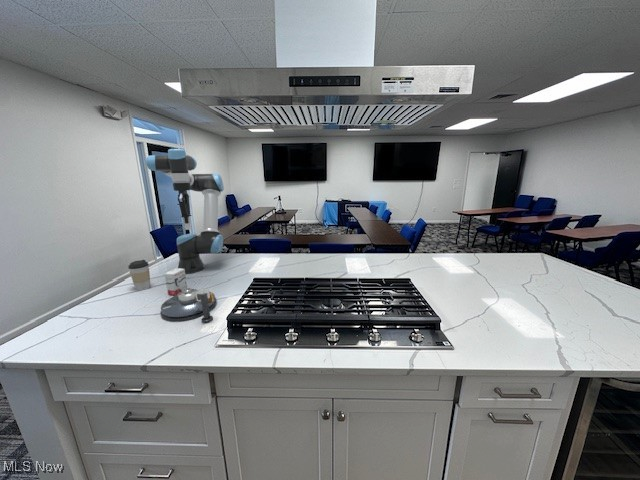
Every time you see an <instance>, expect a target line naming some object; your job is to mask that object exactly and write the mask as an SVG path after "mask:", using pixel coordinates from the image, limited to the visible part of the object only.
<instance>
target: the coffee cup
mask: <svg viewBox="0 0 640 480" xmlns="http://www.w3.org/2000/svg"><path fill="white" fill-rule="evenodd" d="M149 265H150V263H149V262H147V261H146V259H141V260H135V261H132V262H130V263H129V265H128V270H129V274H130V277H131V280H132V283H133V285H134V288H135V290H136V291H142V290H146V289H149V288H150V287H151V275H150V274H151V273H150V268H149Z"/></svg>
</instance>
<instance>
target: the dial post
mask: <svg viewBox="0 0 640 480" xmlns="http://www.w3.org/2000/svg"><path fill="white" fill-rule="evenodd" d="M197 291H198V292H196V298H197V301H201V302H202V309H203V316H202V318H201V323H203V324H208V323H211V322H213V321H214V316H213V315H211V311H210V310H209V303H208V298H210V294H209V292H210V288H209V289H208V288H207V289H206V288H200V289H199V290H197Z"/></svg>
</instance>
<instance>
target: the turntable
mask: <svg viewBox="0 0 640 480" xmlns="http://www.w3.org/2000/svg"><path fill="white" fill-rule="evenodd" d="M209 294H210V298H208V303H209V308H211V307H212V306H213V305H214V303H215V298H216V296H215V294H214V293H213V292H212V291H209ZM160 312H162V314H163V315H164V316H165V317H168V318H185V317H190V316H194V315H197V314H200V313H202V312H203V309H202V302H201V301H197V302H195V303H193V304H190V305H180V304H179V298H178V295H173V296H171V297H169V298H168V299H166V300H165V301H164V302H162V304H161V305H160Z"/></svg>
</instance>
